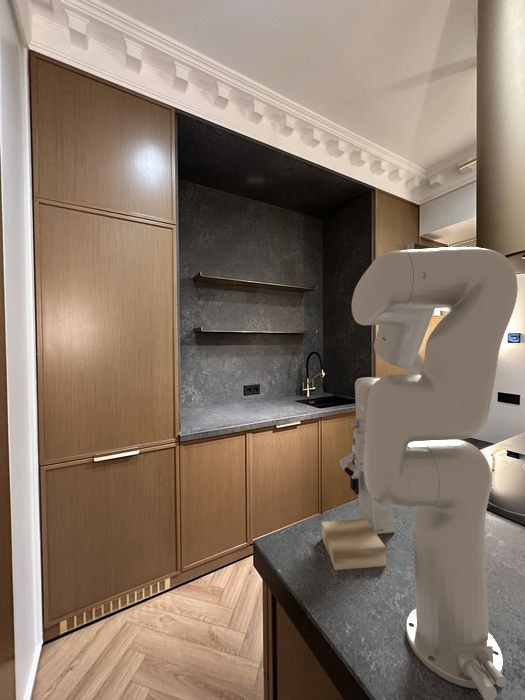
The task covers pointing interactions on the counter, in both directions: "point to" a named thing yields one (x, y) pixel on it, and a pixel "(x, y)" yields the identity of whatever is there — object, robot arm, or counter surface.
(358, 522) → the birch block
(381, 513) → the skincare box
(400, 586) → the counter surface
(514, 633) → the counter surface
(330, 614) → the counter surface
